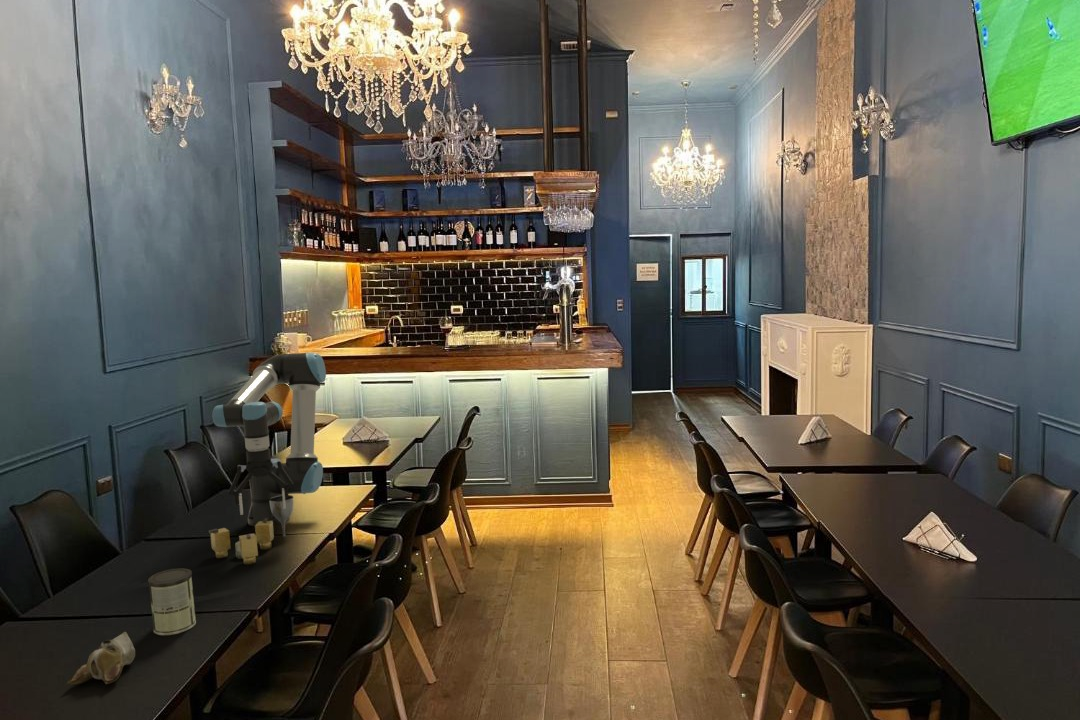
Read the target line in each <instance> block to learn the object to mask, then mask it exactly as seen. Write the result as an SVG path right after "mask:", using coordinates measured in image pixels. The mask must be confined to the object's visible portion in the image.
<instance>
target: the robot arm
mask: <svg viewBox="0 0 1080 720" xmlns="http://www.w3.org/2000/svg"><path fill="white" fill-rule="evenodd" d="M326 369H327V368H326V365H325V361H324V359H323V357H322V356H321V354H319V353H315V352H299V353H298V352H297V353H296V352H295V353H281V354H277V355H273V356H272V357H269V358H268V359H266V360H264V361H262V362H261V363H260V364H259V365H258V366H257V367H256V368H255V369H254V370H253V372H252V376H251V377H250V378H249V379H248V381H246V382H245V384H243V386H242V387H241V388H240V389H239V390H238V392H236V394H235V395H234V396H233V397H232V398H231V399H230V400H229V401H228V403H226V404H219V405H216V406H214V408H213V410H212V414H211V415H212V416H211V418H212V422H213V424H214V425H215V426H216V427H218V428H219V427H220V428H221V427H222V428H229V427H233V428H234V427H243V432H244V443H245V445H244V446H245V449H246V451H245V454H246V464H245V465H242V464H240V463H239V464H237V468H236V469H237V471H236V474H235V476H234V479H233V481H232V483H231V485H230V488H229V490H228V495H230V496H231V495H233V496H234V500H235V505H236V506H239V513H240V514H239V515H240V516H241V515H242V516H243V515H244V507H243V505H244V504H243V496H242V493H241V492H242V491H243V489H245V487H246V485H247V484H248V482H249V489H250V491H249V492H250V507H249V511H248V515H247V524H248V526H251V527H255V525H256V524H257V523H258V522H259V521H263V519H264V518H268V521H273V525H275V524H276V525H281V523H280V522H279V520H277V519H276V518H275V517H274V516H273V514H272V512H271V508H270V498H272V497H275V496H280V495H282V497H283V508H284V509H286V503H285V498H288V497H289V496H288V495H291V494H293V495H294V494H295V495H296V494H298V495H299V494H302V495H306V494H313V493H316V492H317V491H318V490H319V489H320V487H321V484H322V481H323V476H324V475H323V474H324V469H323V467H324V466H323V464H322V463H321V462H320V461H318V460H319V458H318V456H317V455H316V454H315V426H316V425H315V424H316V401H317V400H316V398H317V397H316V396H317V395H316V394H317V393H316V392H317V391H319V390H320V388H321V384H322V383H325V381H326V377H327V371H326ZM282 384H286V385H287V384H288V388H289V389H290V390H291V391H292V402H291V403H292V405H291V424H290V425H291V427H290V429H291V430H290V453H289V454H288V455H287V456H286V457H285V462H282V461H281V459H280V458H271V457H272V456H271V449H270V448H269V447H270V435H269V426H272V425H274V424H276V423H277V422H278V421H280V420H281V418H282V417H283V412H284V411H283V408H282V406H281V405H280V404H279V403H278V402H276V401H267V402H263V401H260V399H261V398H262V397H263V396H264V395H265V394H266V393H267V392H268V391H269V390H271V389H272V388H274V387H275V386H276V385H282ZM245 470H246V471H247V472H248V473H247V475H246V476H245V477H244V479H243V481H242V482H241V483H240V484H239V486H238V487H237V489H235V488H236V485H237V484H238V482H239V479H240V476H241V475H242V473H244V471H245ZM290 519H291V516H290V517H289V518H288V519H287V521H286V522H288V521H289V520H290Z"/></svg>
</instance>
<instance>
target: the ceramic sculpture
mask: <svg viewBox="0 0 1080 720" xmlns="http://www.w3.org/2000/svg"><path fill="white" fill-rule="evenodd" d="M135 657H136V648H135V647H134V644H133V642H132V639H131V638H130V637H129V635H128V633H127V632H126V631H124V632H122V633H121V634H119V635H118V636H116V637H114V638H113V639H106V640H103V641H102V642H101V644H100V646H99V647H97V648H95V649H94V650H93V651H92V652H91V653H90V654H89V656H88V660H87V663H85V664H83V665H81V666H80V668H78V669H77V670H76V671H75V673H74V675H73V676H72V678H71V679H70V680H69V681H67V682H66V685H76V684H81V683H84V682H87V681H88V680H89V679H91V677H92V678H93V679H95V680H102V681H103V682H104V684H105V685H108V684H112V683H114V682H115V681H117V680H118V679H119V678H120V676H121V674H122V671H123V668H124V666H128V665H131V663H133V661H134V659H135Z"/></svg>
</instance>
